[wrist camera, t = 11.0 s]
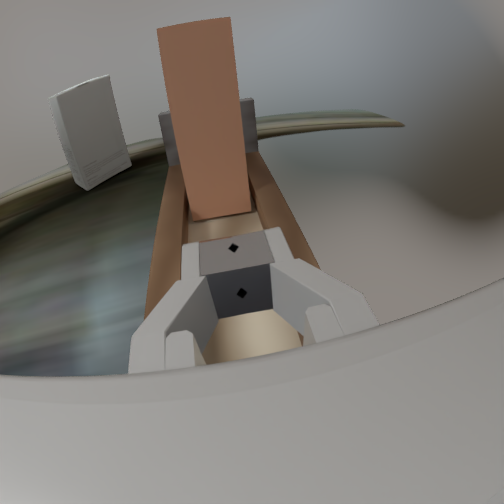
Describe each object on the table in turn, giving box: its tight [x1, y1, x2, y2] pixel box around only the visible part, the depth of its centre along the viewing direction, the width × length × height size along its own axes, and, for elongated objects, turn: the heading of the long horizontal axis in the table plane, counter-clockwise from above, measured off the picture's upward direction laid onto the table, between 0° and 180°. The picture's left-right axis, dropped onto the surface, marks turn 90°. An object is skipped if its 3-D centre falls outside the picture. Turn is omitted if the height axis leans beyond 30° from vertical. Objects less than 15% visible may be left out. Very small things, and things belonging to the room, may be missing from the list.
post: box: [157, 17, 251, 221], centre depth 22 cm, size 5×6×16 cm
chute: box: [144, 98, 321, 365], centre depth 21 cm, size 10×26×9 cm, turn 9°
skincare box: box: [48, 75, 132, 191], centre depth 34 cm, size 8×6×15 cm
